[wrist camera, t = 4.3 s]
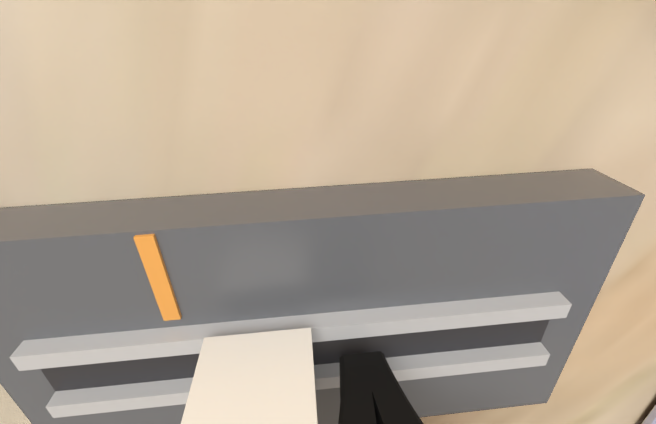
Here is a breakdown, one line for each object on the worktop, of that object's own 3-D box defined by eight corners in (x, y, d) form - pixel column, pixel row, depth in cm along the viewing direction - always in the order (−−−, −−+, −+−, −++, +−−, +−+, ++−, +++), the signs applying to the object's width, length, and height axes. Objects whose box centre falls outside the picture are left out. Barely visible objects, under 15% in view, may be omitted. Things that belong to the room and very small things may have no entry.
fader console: (519, 362, 17) (556, 416, 14) (86, 408, 15) (50, 476, 13) (592, 168, 12) (664, 204, 9) (-39, 210, 10) (-132, 263, 8)
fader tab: (315, 388, 12) (324, 520, 9) (231, 397, 12) (210, 535, 9) (309, 307, 11) (318, 438, 7) (210, 315, 10) (171, 455, 7)
